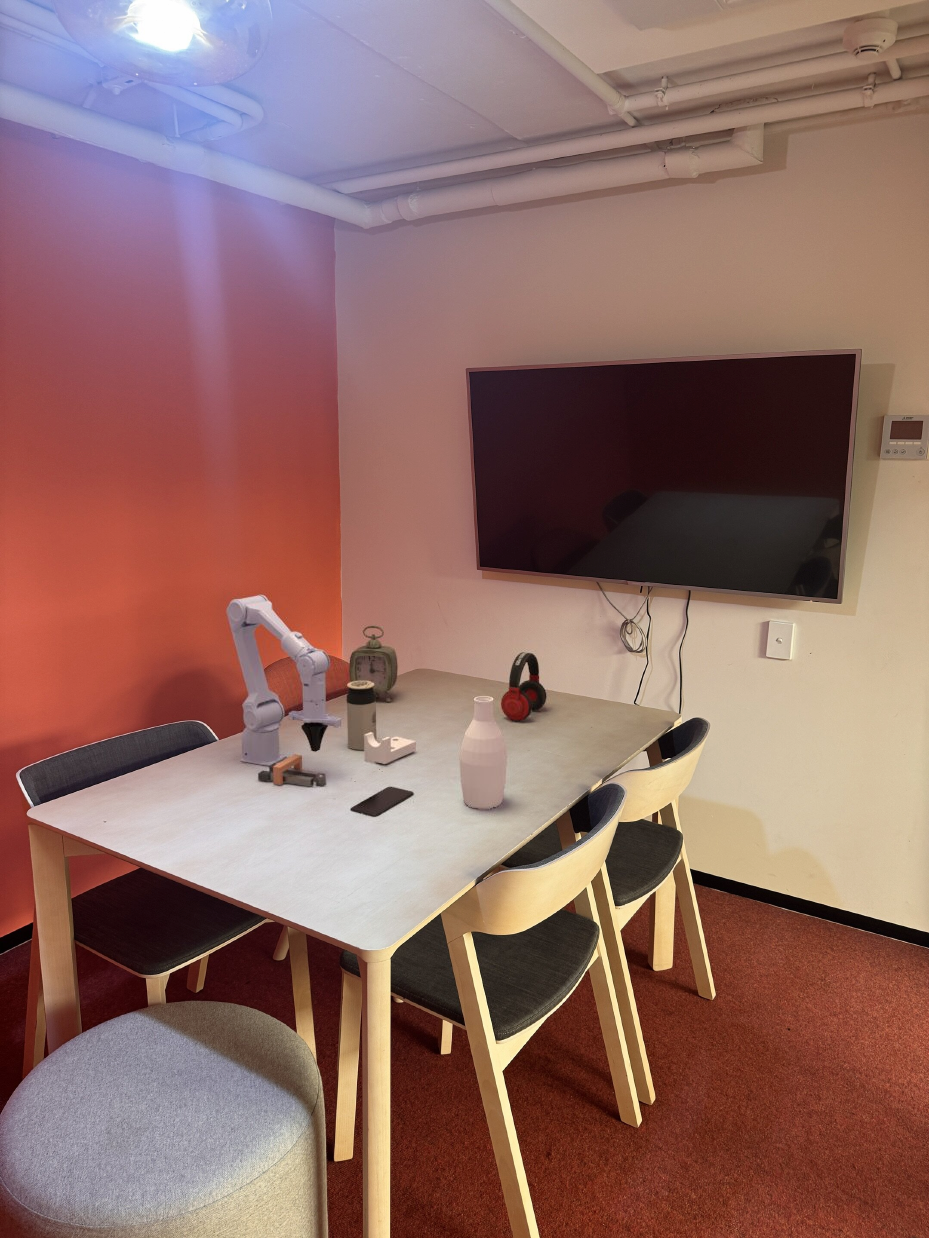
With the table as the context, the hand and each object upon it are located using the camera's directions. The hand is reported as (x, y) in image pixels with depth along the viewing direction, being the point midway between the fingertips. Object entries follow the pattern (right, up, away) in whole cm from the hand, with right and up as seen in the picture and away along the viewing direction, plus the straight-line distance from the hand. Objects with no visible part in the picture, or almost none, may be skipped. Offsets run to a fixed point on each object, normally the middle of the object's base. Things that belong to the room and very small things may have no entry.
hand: (315, 750), depth 221 cm
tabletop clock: (+8, +6, +68) cm, 69 cm away
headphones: (+57, +3, +50) cm, 76 cm away
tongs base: (-4, -7, -2) cm, 8 cm away
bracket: (+18, -4, +14) cm, 23 cm away
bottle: (+42, -10, -16) cm, 46 cm away
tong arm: (-7, -7, -5) cm, 11 cm away
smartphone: (+19, -10, -16) cm, 27 cm away
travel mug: (+9, -2, +22) cm, 24 cm away
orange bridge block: (-7, -7, -2) cm, 10 cm away
